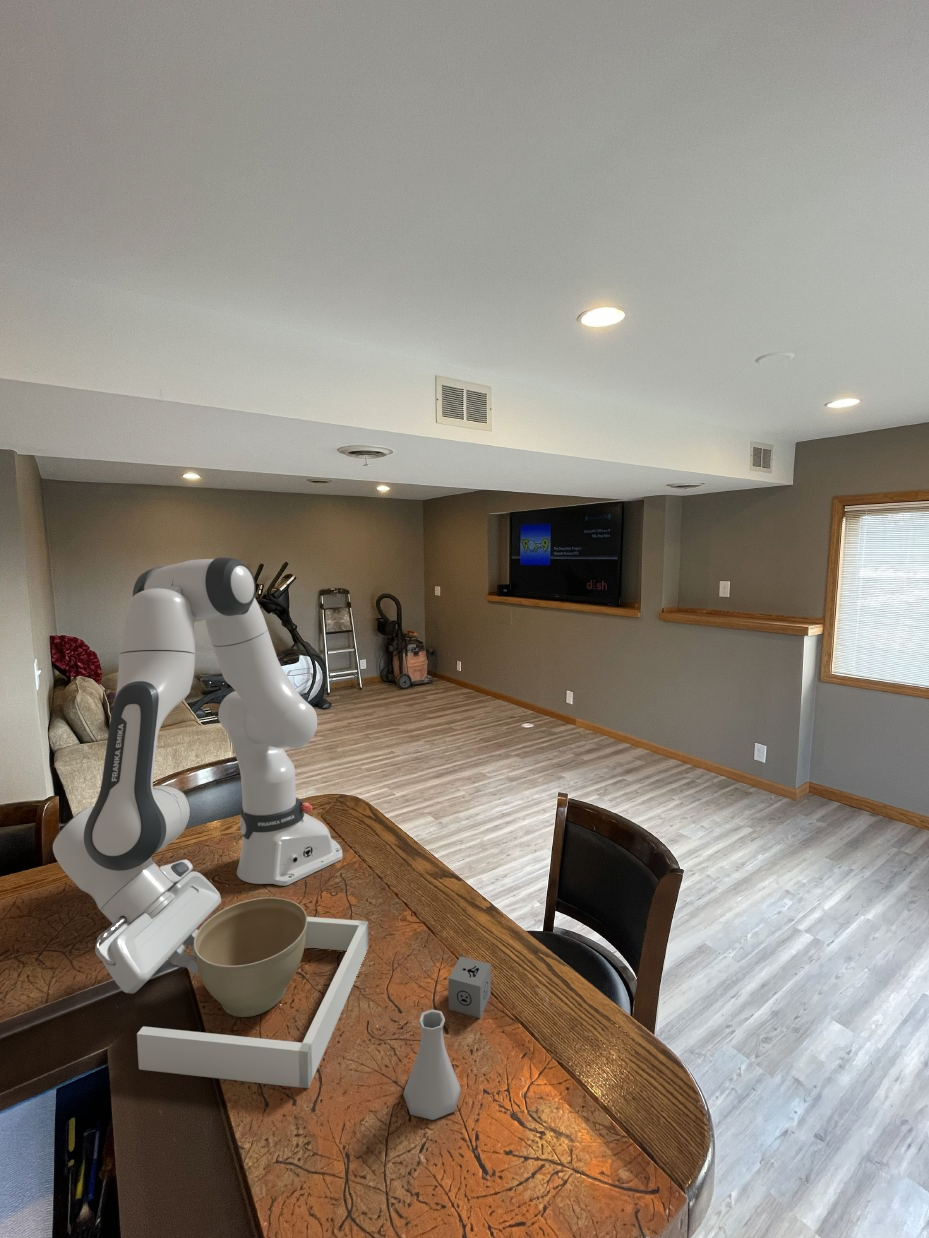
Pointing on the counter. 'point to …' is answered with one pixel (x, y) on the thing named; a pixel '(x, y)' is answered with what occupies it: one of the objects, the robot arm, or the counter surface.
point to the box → (255, 1054)
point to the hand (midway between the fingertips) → (203, 965)
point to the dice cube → (469, 987)
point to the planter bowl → (251, 953)
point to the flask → (432, 1073)
